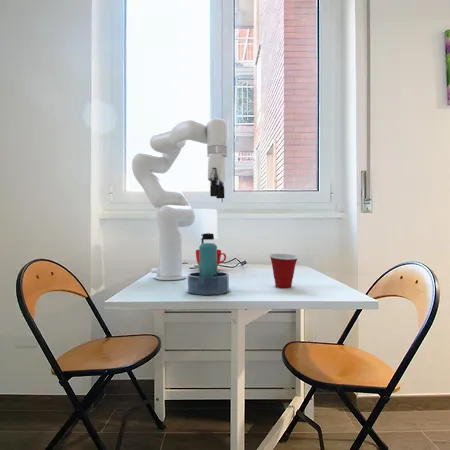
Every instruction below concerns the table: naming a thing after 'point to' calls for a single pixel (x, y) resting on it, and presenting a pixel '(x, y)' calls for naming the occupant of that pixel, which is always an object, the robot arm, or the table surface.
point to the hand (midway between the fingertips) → (217, 197)
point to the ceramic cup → (217, 257)
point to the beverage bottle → (208, 257)
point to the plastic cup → (283, 269)
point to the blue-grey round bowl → (208, 284)
